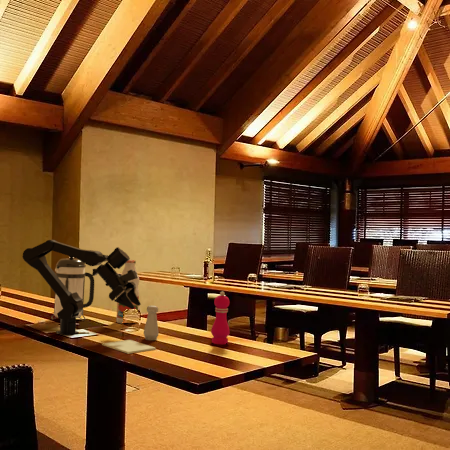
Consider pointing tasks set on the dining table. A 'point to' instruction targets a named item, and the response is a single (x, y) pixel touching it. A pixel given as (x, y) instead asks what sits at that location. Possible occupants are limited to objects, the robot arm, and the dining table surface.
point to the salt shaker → (151, 324)
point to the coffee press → (73, 281)
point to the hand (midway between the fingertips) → (136, 306)
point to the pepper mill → (221, 320)
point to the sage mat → (128, 346)
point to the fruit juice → (120, 308)
